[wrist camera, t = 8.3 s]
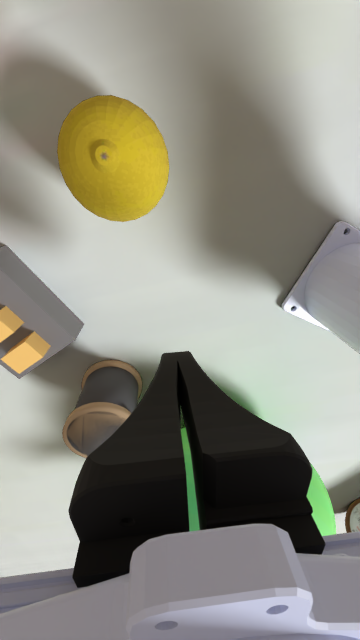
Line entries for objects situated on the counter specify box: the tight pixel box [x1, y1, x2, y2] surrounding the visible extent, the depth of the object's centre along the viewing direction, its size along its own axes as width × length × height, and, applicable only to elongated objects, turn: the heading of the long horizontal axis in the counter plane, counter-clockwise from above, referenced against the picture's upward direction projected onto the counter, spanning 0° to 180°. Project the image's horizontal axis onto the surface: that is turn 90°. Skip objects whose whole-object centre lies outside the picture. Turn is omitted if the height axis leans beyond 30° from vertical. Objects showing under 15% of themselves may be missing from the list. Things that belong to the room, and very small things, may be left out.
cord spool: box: [62, 360, 142, 458], centre depth 22 cm, size 6×6×6 cm
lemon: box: [57, 95, 169, 222], centre depth 14 cm, size 6×6×8 cm
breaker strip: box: [0, 245, 84, 379], centre depth 19 cm, size 8×6×4 cm
